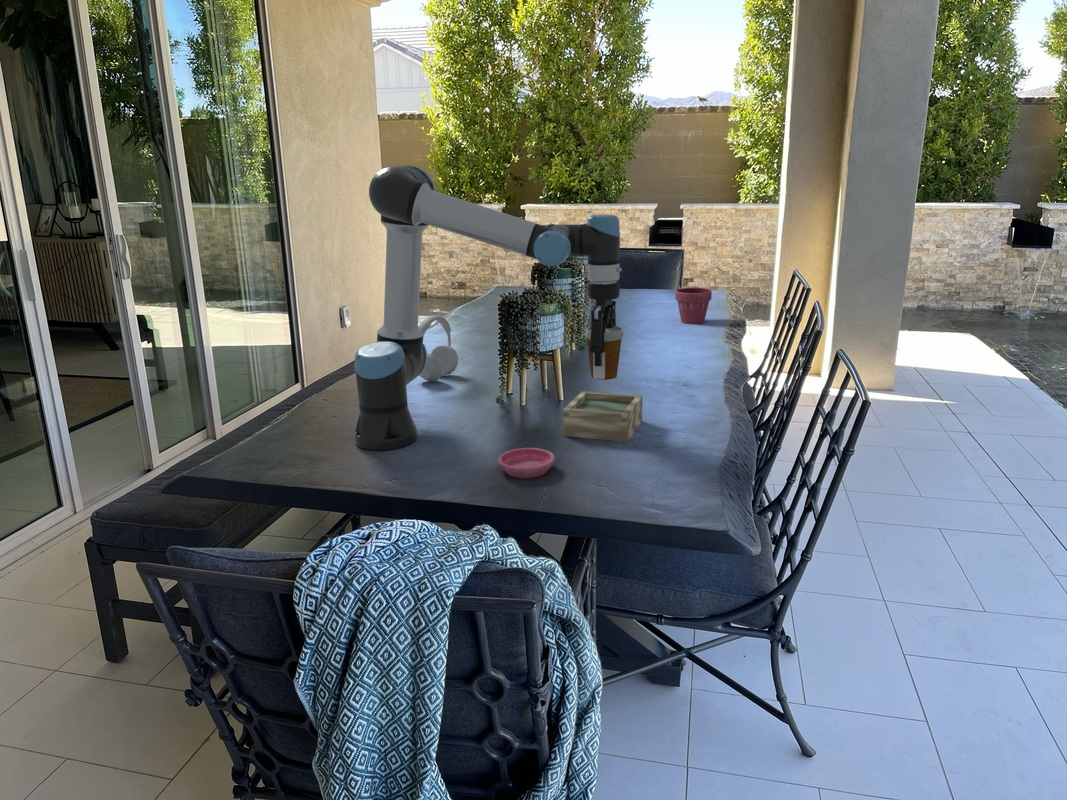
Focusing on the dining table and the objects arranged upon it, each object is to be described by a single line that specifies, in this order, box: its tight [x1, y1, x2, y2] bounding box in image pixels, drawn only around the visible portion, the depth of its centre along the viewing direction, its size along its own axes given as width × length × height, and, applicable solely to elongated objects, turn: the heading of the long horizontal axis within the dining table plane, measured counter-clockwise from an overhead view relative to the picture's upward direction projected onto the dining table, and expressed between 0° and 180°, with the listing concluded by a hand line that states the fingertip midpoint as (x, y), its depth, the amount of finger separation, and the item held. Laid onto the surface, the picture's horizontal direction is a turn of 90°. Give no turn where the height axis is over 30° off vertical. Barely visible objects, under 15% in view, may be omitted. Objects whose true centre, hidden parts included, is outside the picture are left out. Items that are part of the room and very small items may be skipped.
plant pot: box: [674, 287, 713, 325], centre depth 318 cm, size 14×14×13 cm
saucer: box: [497, 447, 556, 479], centre depth 176 cm, size 12×12×3 cm
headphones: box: [418, 314, 459, 383], centre depth 246 cm, size 19×9×20 cm, turn 154°
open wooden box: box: [562, 390, 643, 443], centre depth 200 cm, size 16×16×7 cm
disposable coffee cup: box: [583, 325, 625, 381], centre depth 195 cm, size 10×10×12 cm
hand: (603, 373), depth 197 cm, fingers closed on disposable coffee cup, 8 cm apart
